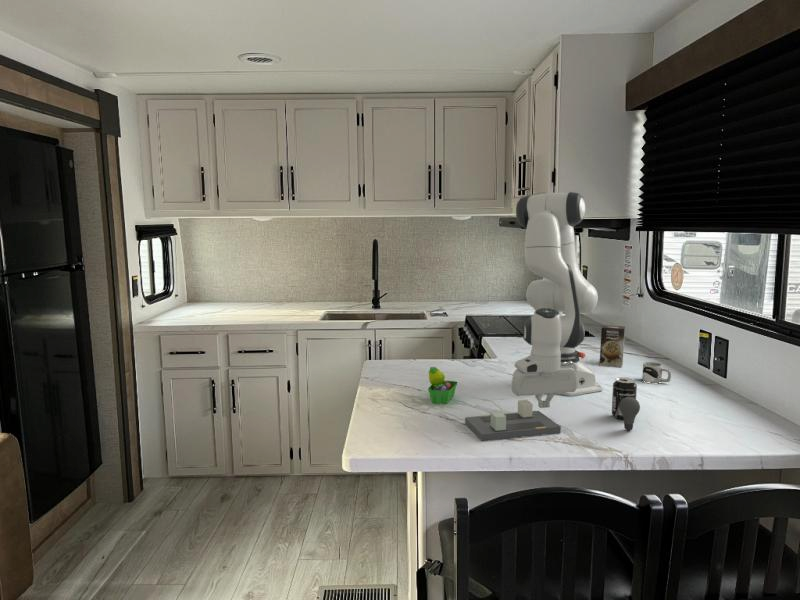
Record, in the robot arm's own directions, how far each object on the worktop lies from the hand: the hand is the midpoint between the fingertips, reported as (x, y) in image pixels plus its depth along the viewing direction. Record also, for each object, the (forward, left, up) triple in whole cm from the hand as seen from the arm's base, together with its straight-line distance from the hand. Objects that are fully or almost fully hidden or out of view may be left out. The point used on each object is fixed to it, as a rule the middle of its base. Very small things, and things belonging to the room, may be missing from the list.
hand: (543, 407), depth 180 cm
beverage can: (-25, +4, -4) cm, 25 cm away
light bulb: (-20, +14, -4) cm, 25 cm away
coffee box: (-57, -52, -4) cm, 77 cm away
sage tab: (+18, +8, -2) cm, 20 cm away
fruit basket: (+24, -27, -4) cm, 37 cm away
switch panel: (+12, +4, -4) cm, 14 cm away
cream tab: (+6, 0, -2) cm, 6 cm away
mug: (-59, -26, -4) cm, 64 cm away
